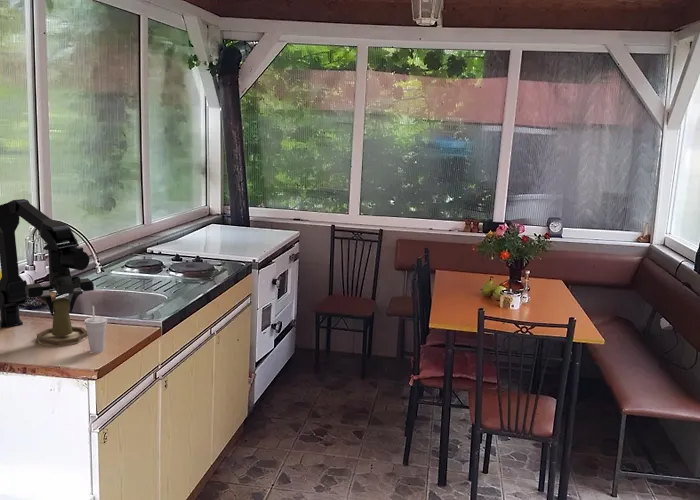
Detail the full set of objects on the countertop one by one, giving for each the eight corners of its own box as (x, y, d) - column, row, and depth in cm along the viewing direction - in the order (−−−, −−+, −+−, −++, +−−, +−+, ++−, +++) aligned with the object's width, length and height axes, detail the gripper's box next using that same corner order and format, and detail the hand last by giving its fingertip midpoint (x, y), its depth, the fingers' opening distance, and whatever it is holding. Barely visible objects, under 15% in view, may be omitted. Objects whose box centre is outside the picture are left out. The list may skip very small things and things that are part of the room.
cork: (76, 330, 204) (74, 296, 201) (66, 336, 198) (64, 302, 195) (58, 328, 204) (56, 295, 202) (47, 335, 198) (45, 300, 196)
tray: (33, 335, 203) (33, 330, 202) (80, 328, 211) (80, 323, 210) (43, 349, 192) (43, 344, 191) (92, 341, 200) (91, 336, 200)
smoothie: (85, 348, 194) (83, 303, 191) (108, 346, 196) (106, 302, 193) (85, 355, 188) (83, 309, 185) (108, 353, 190) (106, 308, 188)
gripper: (30, 274, 185) (33, 326, 188) (98, 267, 196) (99, 316, 199) (23, 266, 193) (26, 315, 197) (88, 260, 204) (89, 307, 208)
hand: (61, 314), depth 200 cm, fingers closed on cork, 5 cm apart
